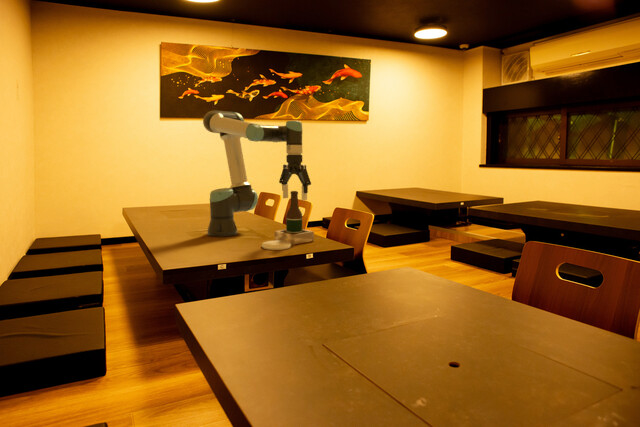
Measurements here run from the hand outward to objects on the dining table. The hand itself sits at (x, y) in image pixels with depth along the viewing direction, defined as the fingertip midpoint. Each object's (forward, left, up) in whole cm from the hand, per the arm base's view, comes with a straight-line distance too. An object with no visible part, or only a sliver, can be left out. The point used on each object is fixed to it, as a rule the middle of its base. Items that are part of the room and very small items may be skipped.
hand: (294, 199), depth 210 cm
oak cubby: (0, 0, -20) cm, 20 cm away
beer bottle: (0, 0, -20) cm, 20 cm away
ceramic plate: (+5, -15, -20) cm, 26 cm away
